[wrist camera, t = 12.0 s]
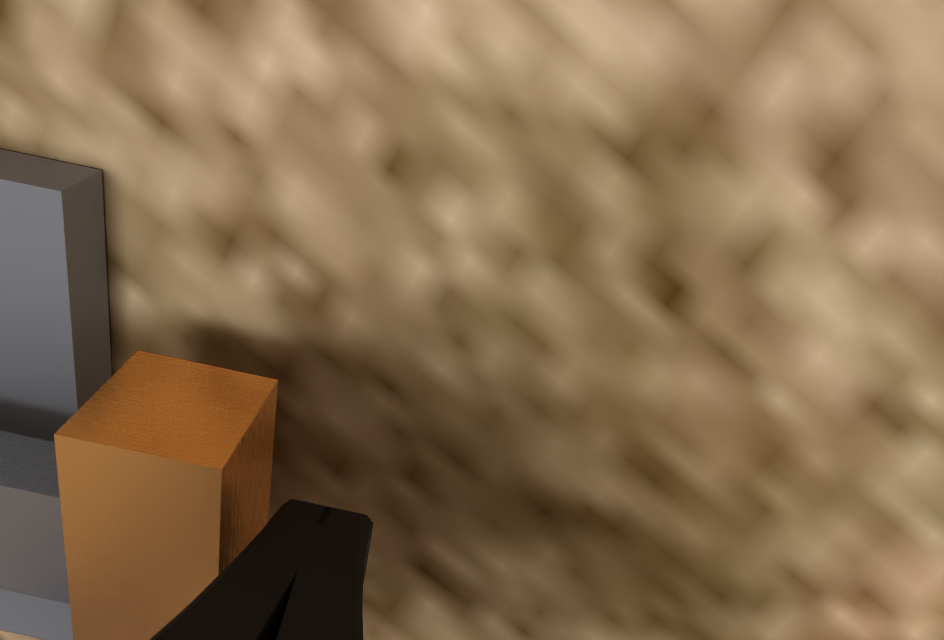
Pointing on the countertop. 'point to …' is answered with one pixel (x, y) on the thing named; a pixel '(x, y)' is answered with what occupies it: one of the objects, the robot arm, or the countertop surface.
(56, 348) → the vise base
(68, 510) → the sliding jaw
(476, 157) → the countertop surface
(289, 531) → the robot arm
